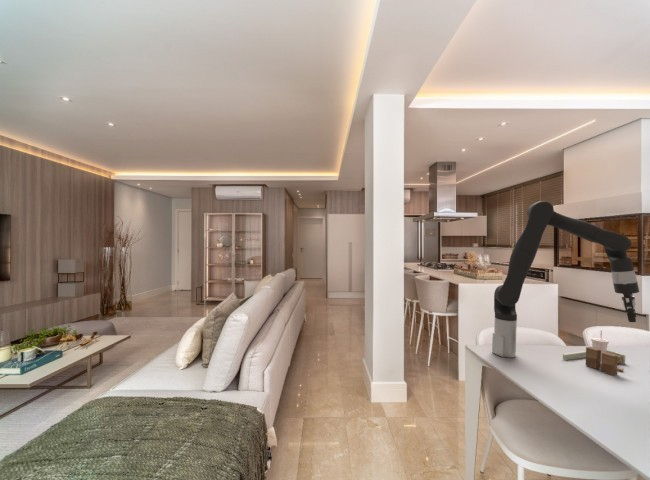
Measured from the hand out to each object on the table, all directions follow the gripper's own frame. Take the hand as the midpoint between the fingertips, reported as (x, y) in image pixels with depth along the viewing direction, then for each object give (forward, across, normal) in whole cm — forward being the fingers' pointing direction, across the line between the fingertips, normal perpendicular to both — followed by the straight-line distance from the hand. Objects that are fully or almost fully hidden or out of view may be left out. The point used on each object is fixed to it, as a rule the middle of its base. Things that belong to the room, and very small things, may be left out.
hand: (632, 319), depth 130 cm
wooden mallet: (+21, -2, -15) cm, 25 cm away
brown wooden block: (+21, +6, -9) cm, 24 cm away
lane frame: (+21, -3, -16) cm, 26 cm away
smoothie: (+21, -7, -15) cm, 27 cm away
